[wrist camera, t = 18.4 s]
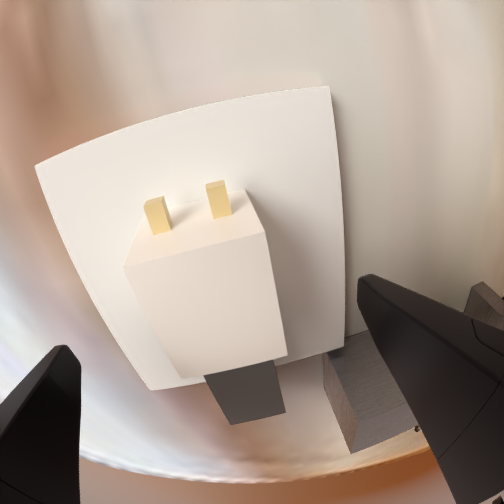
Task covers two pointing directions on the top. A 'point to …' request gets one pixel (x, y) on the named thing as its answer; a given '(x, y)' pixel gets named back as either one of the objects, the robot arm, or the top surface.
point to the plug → (212, 297)
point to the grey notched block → (383, 380)
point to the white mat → (193, 188)
